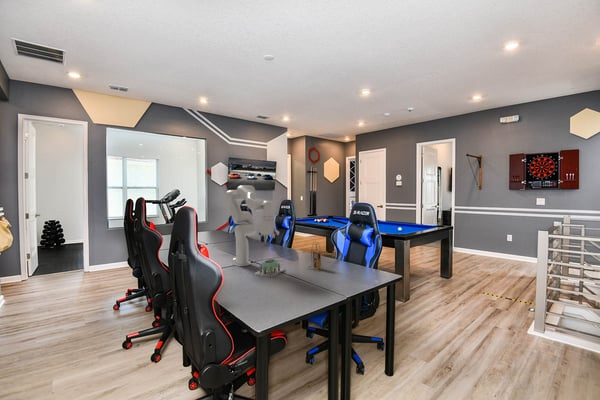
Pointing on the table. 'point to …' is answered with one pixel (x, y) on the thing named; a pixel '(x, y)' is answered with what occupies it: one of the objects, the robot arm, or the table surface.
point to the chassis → (269, 273)
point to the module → (270, 264)
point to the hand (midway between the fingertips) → (268, 242)
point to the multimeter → (316, 258)
